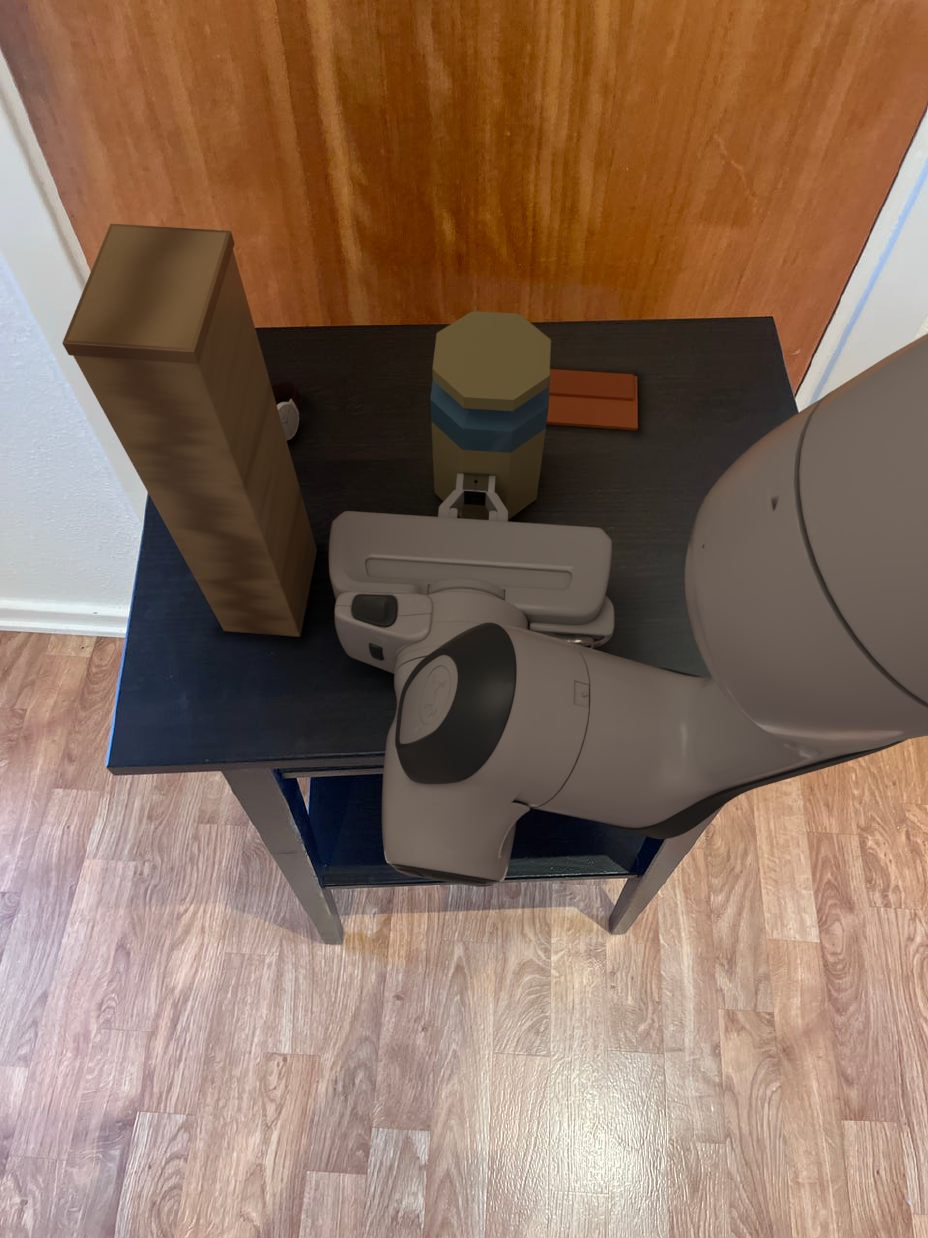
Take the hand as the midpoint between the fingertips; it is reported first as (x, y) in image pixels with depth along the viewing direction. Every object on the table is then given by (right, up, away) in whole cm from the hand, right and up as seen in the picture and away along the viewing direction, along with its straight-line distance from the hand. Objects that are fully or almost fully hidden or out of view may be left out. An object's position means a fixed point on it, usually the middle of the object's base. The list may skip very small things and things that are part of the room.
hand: (476, 478), depth 65 cm
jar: (+1, +1, +8) cm, 8 cm away
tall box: (-16, -8, +3) cm, 18 cm away
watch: (-18, +6, +10) cm, 22 cm away
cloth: (+8, +9, +12) cm, 17 cm away
